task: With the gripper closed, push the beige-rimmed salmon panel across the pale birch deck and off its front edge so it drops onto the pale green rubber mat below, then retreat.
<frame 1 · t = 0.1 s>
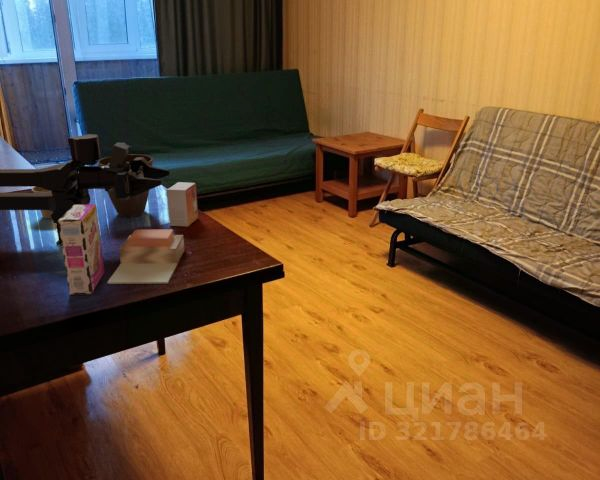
hand: (165, 177, 139), 17 cm above the table, tool horizontal, fingers open, 9 cm apart
plant pot: (131, 213, 166), on the table
mat: (143, 273, 125), on the table
flower pot: (54, 216, 164), on the table
candy bar box: (88, 284, 121), on the table
deck: (153, 257, 134), on the table
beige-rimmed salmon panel: (152, 241, 133), point 4 cm above the table, touching deck
small box: (184, 222, 158), on the table
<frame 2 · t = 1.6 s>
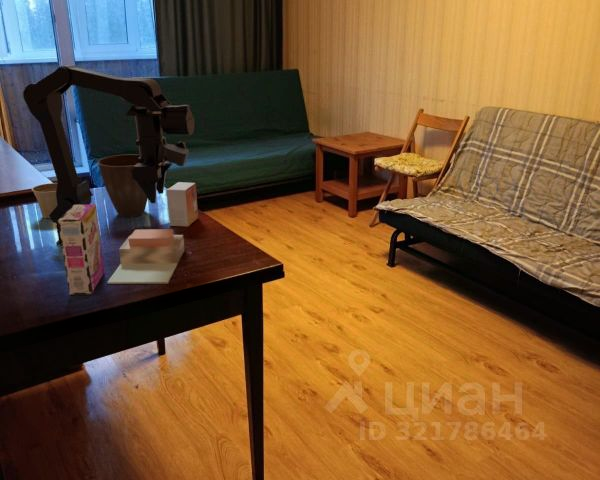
hand: (157, 198, 138), 12 cm above the table, tool pointing down, fingers open, 8 cm apart
nothing on the table moved.
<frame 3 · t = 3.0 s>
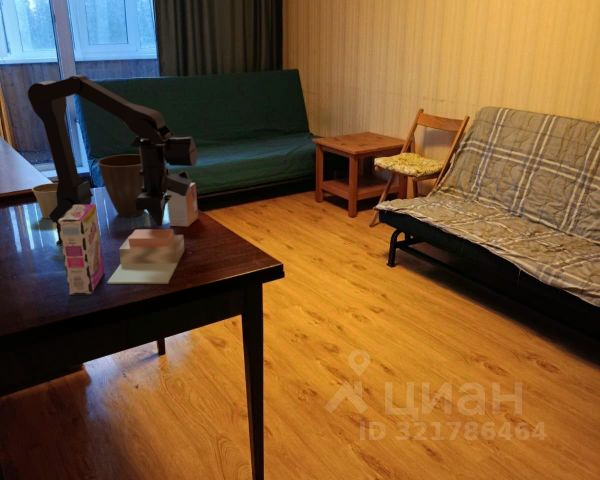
hand: (159, 226, 140), 5 cm above the table, tool pointing down, fingers closed
nothing on the table moved.
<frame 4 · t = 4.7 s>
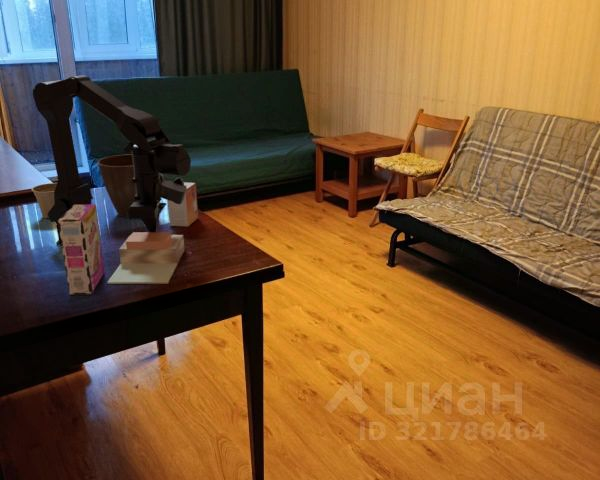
hand: (154, 235, 134), 5 cm above the table, tool pointing down, fingers closed
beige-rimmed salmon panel: (149, 244, 131), point 4 cm above the table
everything else where it was.
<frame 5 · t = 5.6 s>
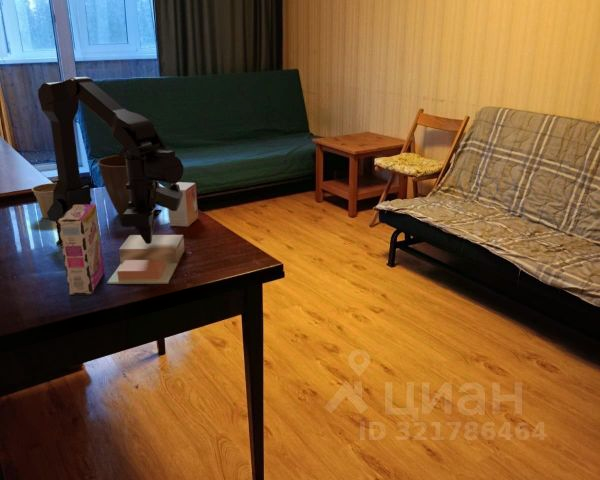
hand: (148, 243, 130), 5 cm above the table, tool pointing down, fingers closed
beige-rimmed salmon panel: (141, 265, 124), point 2 cm above the table, tilted 180°, touching mat
everything else where it was.
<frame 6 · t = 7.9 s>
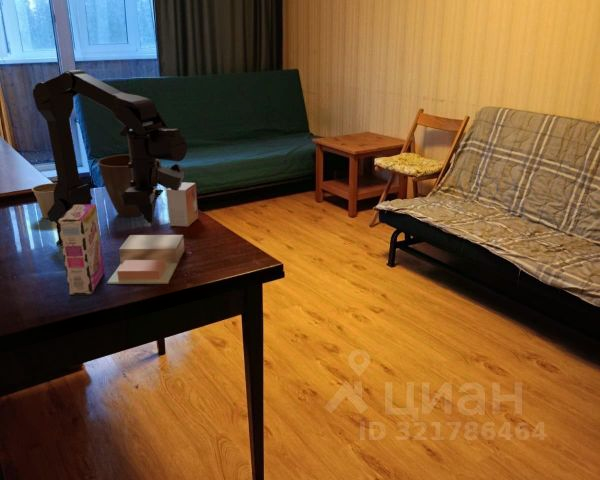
hand: (150, 222, 131), 9 cm above the table, tool pointing down, fingers closed
nothing on the table moved.
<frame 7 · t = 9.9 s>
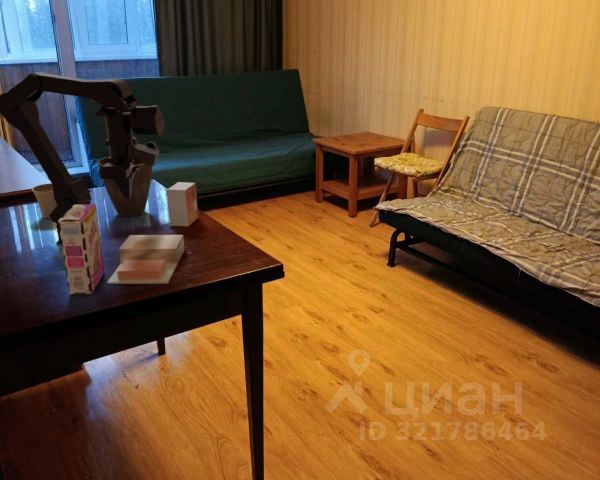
hand: (127, 197, 139), 12 cm above the table, tool pointing down, fingers closed
nothing on the table moved.
at the end: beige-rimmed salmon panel inside the target area on the mat (0.2 cm from its centre), point 2.4 cm above the mat's base; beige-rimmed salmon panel point 2.4 cm above the table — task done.
